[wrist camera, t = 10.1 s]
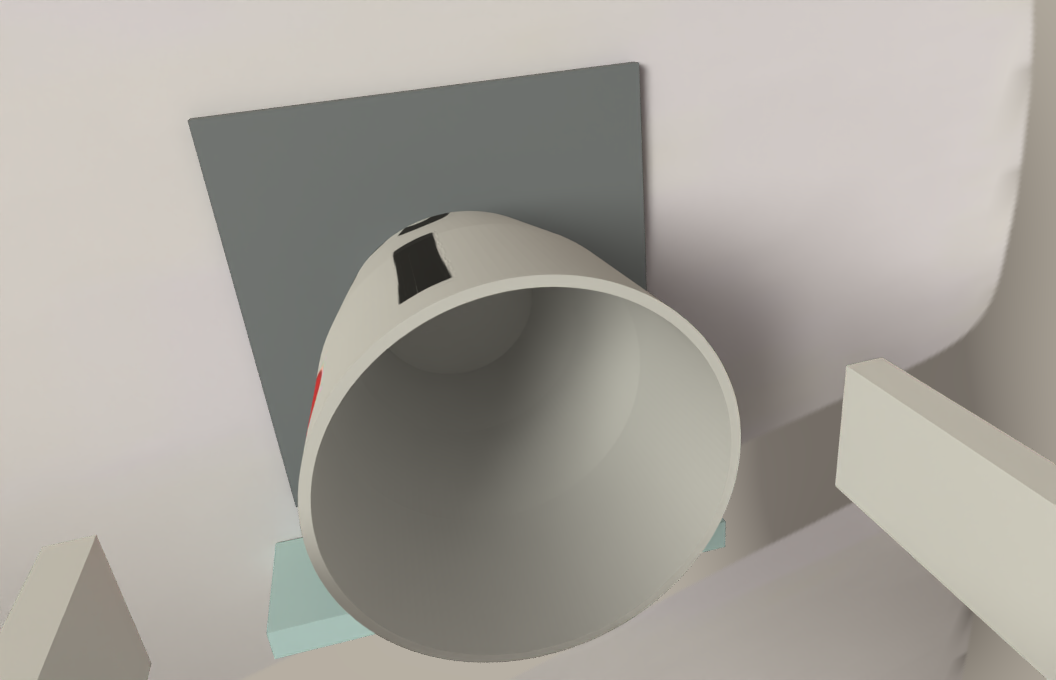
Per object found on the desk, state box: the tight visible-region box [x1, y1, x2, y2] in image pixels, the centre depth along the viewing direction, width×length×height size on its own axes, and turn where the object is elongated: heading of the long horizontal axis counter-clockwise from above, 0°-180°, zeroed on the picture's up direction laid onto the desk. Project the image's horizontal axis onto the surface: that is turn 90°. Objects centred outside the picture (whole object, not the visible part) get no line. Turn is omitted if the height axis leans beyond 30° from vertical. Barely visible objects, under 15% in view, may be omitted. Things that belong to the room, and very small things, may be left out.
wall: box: [267, 518, 726, 659], centre depth 24 cm, size 14×1×4 cm, turn 95°
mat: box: [188, 62, 647, 507], centre depth 23 cm, size 12×12×1 cm
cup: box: [298, 211, 741, 662], centre depth 18 cm, size 8×8×10 cm
